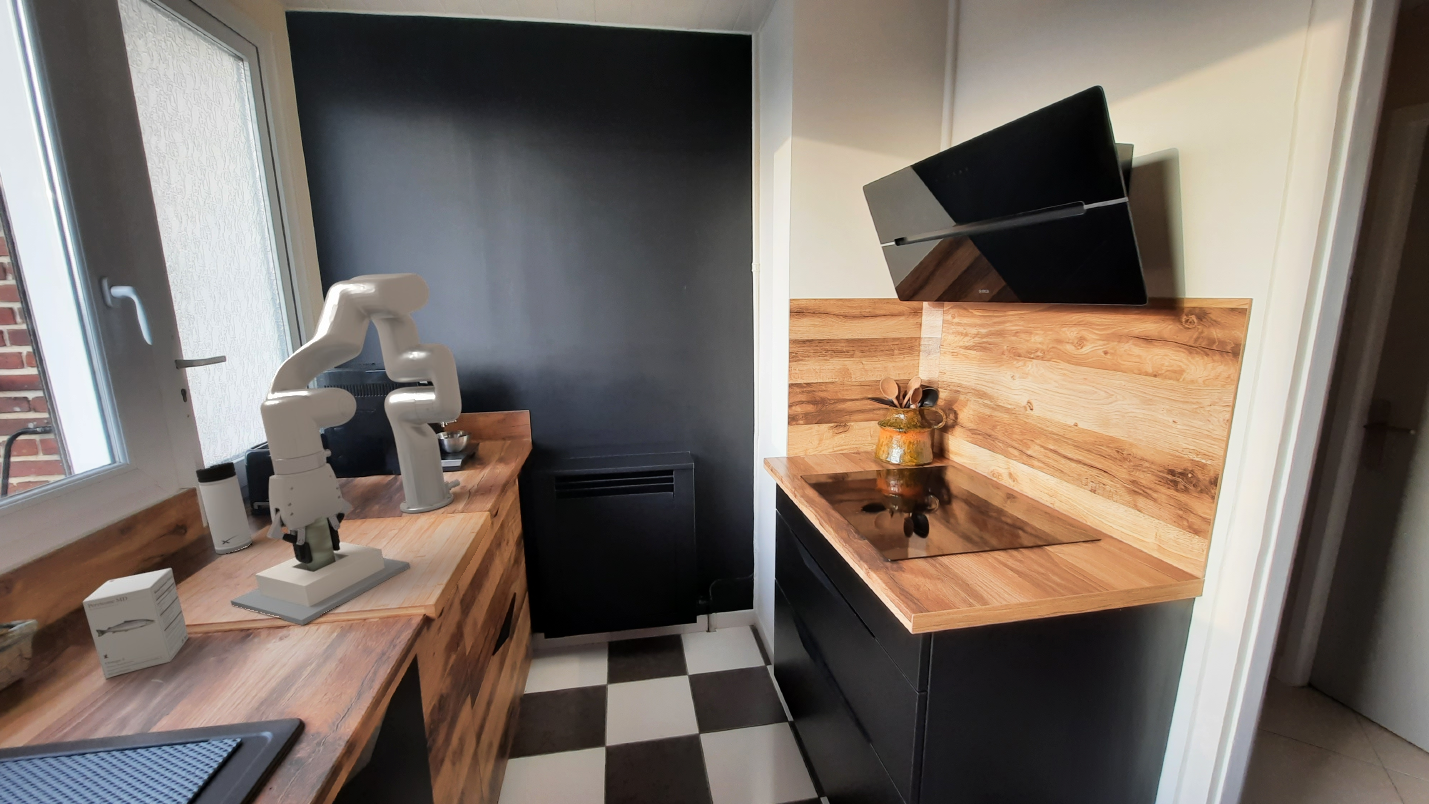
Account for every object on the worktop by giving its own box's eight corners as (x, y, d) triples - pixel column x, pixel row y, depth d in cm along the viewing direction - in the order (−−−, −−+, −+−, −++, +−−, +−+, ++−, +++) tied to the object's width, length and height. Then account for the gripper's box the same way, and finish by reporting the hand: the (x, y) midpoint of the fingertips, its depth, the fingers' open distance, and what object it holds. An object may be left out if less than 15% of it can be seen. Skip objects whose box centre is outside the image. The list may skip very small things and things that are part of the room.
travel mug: (232, 555, 115) (210, 468, 111) (208, 553, 117) (186, 468, 113) (261, 542, 121) (241, 459, 117) (238, 541, 123) (218, 459, 119)
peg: (328, 568, 103) (316, 511, 100) (343, 571, 101) (331, 513, 99) (304, 580, 99) (290, 520, 96) (319, 583, 97) (306, 523, 95)
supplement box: (103, 681, 76) (78, 602, 74) (129, 652, 83) (107, 578, 80) (171, 663, 79) (149, 586, 77) (191, 636, 86) (172, 565, 83)
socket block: (343, 554, 113) (339, 532, 112) (410, 567, 106) (405, 544, 105) (231, 605, 95) (225, 580, 94) (302, 625, 87) (296, 598, 86)
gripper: (333, 449, 104) (350, 534, 108) (232, 476, 89) (256, 575, 93) (359, 451, 102) (375, 538, 105) (259, 480, 86) (282, 581, 90)
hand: (319, 554), depth 99 cm, fingers closed on peg, 4 cm apart
